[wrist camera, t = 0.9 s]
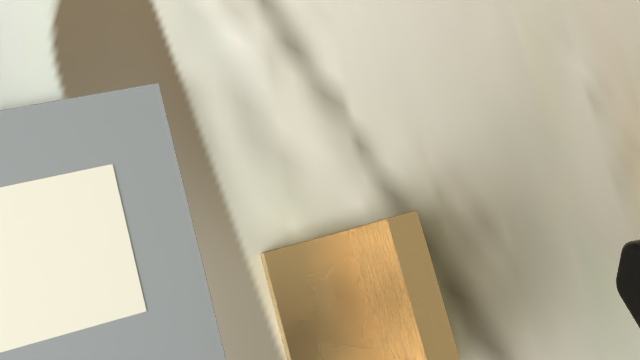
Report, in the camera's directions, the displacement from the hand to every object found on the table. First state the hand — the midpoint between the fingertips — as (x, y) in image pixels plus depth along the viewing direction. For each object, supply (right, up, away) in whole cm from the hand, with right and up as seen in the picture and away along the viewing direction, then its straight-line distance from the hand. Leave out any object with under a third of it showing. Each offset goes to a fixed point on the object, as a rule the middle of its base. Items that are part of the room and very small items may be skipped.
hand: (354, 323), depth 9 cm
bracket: (0, -4, +16) cm, 16 cm away
